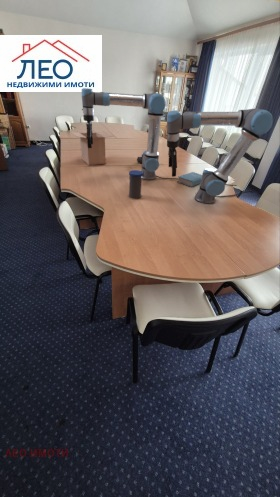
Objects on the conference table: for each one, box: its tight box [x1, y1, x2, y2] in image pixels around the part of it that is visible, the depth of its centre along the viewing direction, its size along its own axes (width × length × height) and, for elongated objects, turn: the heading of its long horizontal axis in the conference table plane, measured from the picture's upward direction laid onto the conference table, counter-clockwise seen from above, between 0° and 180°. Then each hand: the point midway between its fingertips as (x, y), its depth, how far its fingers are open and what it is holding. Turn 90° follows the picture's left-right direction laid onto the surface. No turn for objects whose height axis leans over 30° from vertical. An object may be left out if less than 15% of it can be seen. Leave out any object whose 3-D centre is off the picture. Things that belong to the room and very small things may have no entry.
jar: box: [128, 175, 143, 200], centre depth 164 cm, size 9×9×18 cm
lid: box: [128, 169, 143, 177], centre depth 159 cm, size 10×10×2 cm
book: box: [177, 171, 202, 188], centre depth 201 cm, size 23×16×5 cm
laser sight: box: [136, 153, 143, 164], centre depth 238 cm, size 10×22×10 cm, turn 78°
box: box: [70, 129, 114, 166], centre depth 229 cm, size 44×36×27 cm
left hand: (90, 146), depth 173 cm, fingers open, 13 cm apart
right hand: (172, 171), depth 153 cm, fingers open, 13 cm apart
